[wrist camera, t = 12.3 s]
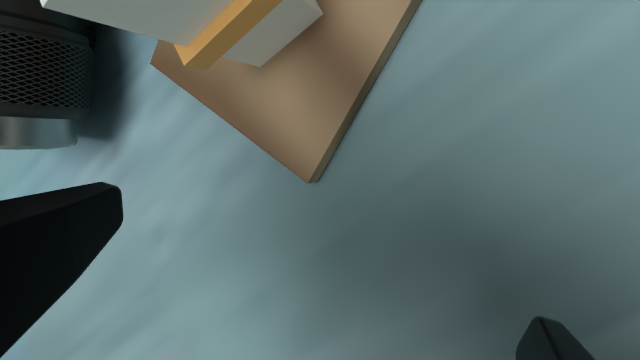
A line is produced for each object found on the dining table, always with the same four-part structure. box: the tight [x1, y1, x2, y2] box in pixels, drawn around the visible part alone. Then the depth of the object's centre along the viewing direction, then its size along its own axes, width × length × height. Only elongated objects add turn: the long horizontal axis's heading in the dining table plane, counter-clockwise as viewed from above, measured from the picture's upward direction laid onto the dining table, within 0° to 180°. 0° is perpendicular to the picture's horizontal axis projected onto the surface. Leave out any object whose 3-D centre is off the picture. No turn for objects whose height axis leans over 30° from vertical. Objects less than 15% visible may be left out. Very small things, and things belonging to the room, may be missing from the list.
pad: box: [150, 0, 422, 183], centre depth 20 cm, size 12×12×1 cm
